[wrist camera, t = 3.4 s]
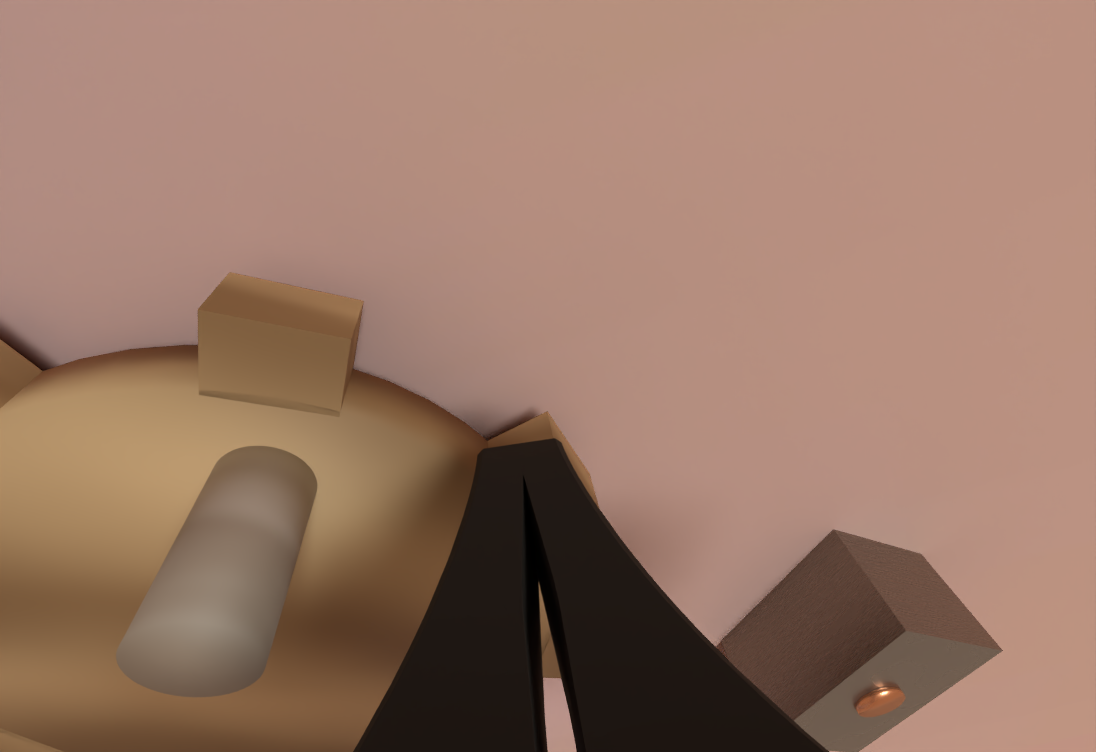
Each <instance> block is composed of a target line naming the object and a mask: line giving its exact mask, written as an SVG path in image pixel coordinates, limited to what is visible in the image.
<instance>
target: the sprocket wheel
mask: <svg viewBox="0 0 1096 752" xmlns="http://www.w3.org/2000/svg"><path fill="white" fill-rule="evenodd" d="M362 308H363V301H361V300H357V299H352V298H347V297H343V296H338V295H333V294H329V293H324V292H319V291H315V290H310V289H305V288H301V287H296V286H291V285H287V284H282V283H277V282H273V281H268V280H263V279H259V278H254V277H249V276H245V275H240V274H235V273H231V272H230V273H229V274H228V275H227V276H226V277H225V278H224V280H223V281H222V282H221V283H220V284H219V285H218V287H217V288H216V289H215V290H214V291H213V292H212V294H211V295H210V296H209V297H208V298H207V299H206V301H205V302H204V303H203V304H202V305H201V306H200V308H199V309H198V345H179V346H166V347H153V348H140V349H129V350H124V351H119V352H114V353H109V354H104V355H98V356H93V357H88V358H83V359H78V360H75V361H72V362H69V363H66V364H63V365H60V366H57V367H54V368H51V369H48V370H45V371H42V370H40V369H39V368H38V367H36V366H35V365H34V364H32V363H31V362H30V361H28V360H27V359H26V358H24V357H23V356H22V355H20V354H19V353H18V352H16V351H15V350H14V349H12V348H11V347H10V346H8V345H7V344H6V343H4V342H3V341H2V340H0V752H353V751H354V749H355V747H356V746H357V744H358V742H359V741H360V739H361V737H362V735H363V734H364V732H365V730H366V728H367V726H368V725H369V723H370V721H371V719H372V717H373V716H374V714H375V712H376V710H377V708H378V706H379V705H380V703H381V701H382V699H383V697H384V696H385V694H386V692H387V690H388V688H389V687H390V685H391V683H392V681H393V679H394V677H395V675H396V673H397V671H398V669H399V667H400V665H401V663H402V661H403V659H404V657H405V655H406V653H407V651H408V649H409V647H410V645H411V643H412V641H413V639H414V637H415V635H416V633H417V631H418V629H419V626H420V624H421V622H422V620H423V618H424V616H425V613H426V611H427V609H428V606H429V604H430V602H431V599H432V597H433V594H434V592H435V590H436V587H437V585H438V582H439V580H440V578H441V575H442V573H443V570H444V568H445V566H446V563H447V561H448V558H449V555H450V553H451V550H452V547H453V544H454V541H455V538H456V535H457V532H458V529H459V527H460V524H461V521H462V518H463V515H464V512H465V508H466V505H467V501H468V498H469V494H470V491H471V487H472V483H473V478H474V473H475V469H476V462H477V455H478V454H479V453H480V452H481V451H482V449H484V448H491V447H498V446H505V445H511V444H518V443H525V442H532V441H538V440H545V439H552V438H556V439H557V440H559V441H560V442H562V445H563V447H564V450H565V452H566V454H567V456H568V458H569V460H570V462H571V464H572V466H573V468H574V469H575V471H576V473H577V475H578V476H579V478H580V480H581V481H582V483H583V485H584V486H585V488H586V489H587V491H588V493H589V494H590V496H591V497H592V499H593V500H594V502H595V503H596V505H597V506H598V502H597V499H596V495H595V492H594V488H593V484H592V481H591V477H590V474H589V472H588V471H587V469H586V468H585V466H584V465H583V463H582V462H581V460H580V459H579V457H578V456H577V454H576V453H575V451H574V450H573V448H572V447H571V445H570V444H569V443H568V441H567V440H566V438H565V437H564V435H563V434H562V432H561V431H560V429H559V428H558V426H557V425H556V423H555V422H554V420H553V419H552V417H551V416H550V414H549V413H548V411H547V412H545V413H543V414H541V415H539V416H537V417H535V418H533V419H531V420H529V421H527V422H525V423H523V424H521V425H519V426H517V427H515V428H513V429H511V430H509V431H507V432H505V433H502V434H500V435H498V436H496V437H494V438H492V439H490V440H488V441H487V440H486V439H484V438H483V437H482V436H481V435H480V434H478V433H477V432H476V431H475V430H473V429H472V428H471V427H470V426H469V425H467V424H466V423H465V422H463V421H462V420H460V419H459V418H457V417H455V416H454V415H452V414H450V413H449V412H447V411H446V410H444V409H442V408H441V407H439V406H438V405H436V404H434V403H433V402H431V401H430V400H427V399H425V398H423V397H421V396H419V395H417V394H415V393H413V392H410V391H408V390H406V389H404V388H402V387H400V386H398V385H396V384H393V383H391V382H389V381H386V380H384V379H381V378H378V377H375V376H372V375H369V374H366V373H363V372H360V371H358V370H355V369H353V365H354V358H355V352H356V346H357V339H358V333H359V327H360V320H361V314H362ZM598 508H599V506H598ZM539 602H540V623H541V646H542V668H543V677H545V678H561V675H560V670H559V666H558V662H557V658H556V653H555V649H554V645H553V641H552V636H551V632H550V628H549V624H548V619H547V615H546V611H545V607H544V602H543V598H542V594H541V590H540V585H539Z"/></svg>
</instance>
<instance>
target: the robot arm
mask: <svg viewBox="0 0 1096 752" xmlns="http://www.w3.org/2000/svg"><path fill="white" fill-rule="evenodd" d="M539 585H540V590H541V594H542V598H543V602H544V607H545V611H546V615H547V619H548V624H549V628H550V632H551V636H552V641H553V645H554V649H555V653H556V658H557V662H558V666H559V670H560V675H561V679H562V683H563V687H564V692H565V696H566V700H567V704H568V709H569V713H570V718H571V723H572V728H573V733H574V738H575V743H576V750H577V752H829V751H828V750H827V749H825V748H824V747H823V746H822V745H821V744H820V743H818V742H817V741H816V740H815V739H814V738H813V737H811V736H810V735H809V734H808V733H807V732H805V731H804V730H803V729H802V728H801V727H800V726H799V725H798V724H797V723H796V722H795V721H793V720H792V719H791V718H790V717H789V716H788V715H787V714H786V713H785V712H784V711H783V710H781V709H780V708H779V707H778V706H777V705H776V704H775V703H774V702H773V701H772V700H771V699H769V698H768V697H767V696H766V695H765V694H764V693H763V692H762V691H761V690H760V689H759V688H758V687H756V686H755V685H754V684H753V683H752V682H751V681H750V680H749V679H748V678H747V677H746V676H744V675H743V674H742V673H741V672H740V671H739V670H738V669H737V668H736V667H735V666H734V665H733V664H732V663H731V662H730V661H729V660H728V659H727V658H726V657H725V656H724V655H723V654H722V653H721V652H720V651H719V650H718V649H717V648H716V647H715V646H714V645H713V644H712V643H711V642H710V641H709V640H708V639H707V638H706V637H705V636H704V635H703V634H702V633H701V632H700V631H699V630H698V629H697V628H696V627H695V626H694V624H693V623H692V622H691V621H690V620H689V619H688V618H687V617H686V616H685V615H684V614H683V613H682V612H681V611H680V609H679V608H678V607H677V606H676V605H675V604H674V603H673V602H672V601H671V599H670V598H669V597H668V596H667V595H666V594H665V593H664V592H663V590H662V589H661V588H660V587H659V586H658V585H657V583H656V582H655V581H654V580H653V579H652V577H651V576H650V575H649V574H648V573H647V571H646V570H645V569H644V568H643V566H642V565H641V564H640V563H639V561H638V560H637V559H636V558H635V557H634V555H633V554H632V553H631V552H630V550H629V549H628V548H627V546H626V545H625V544H624V542H623V541H622V540H621V539H620V537H619V536H618V534H617V533H616V532H615V530H614V529H613V527H612V526H611V525H610V523H609V522H608V520H607V519H606V518H605V516H604V515H603V513H602V512H601V511H600V509H599V508H598V506H597V505H596V503H595V502H594V500H593V499H592V497H591V496H590V494H589V493H588V491H587V489H586V488H585V486H584V485H583V483H582V481H581V480H580V478H579V476H578V475H577V473H576V471H575V469H574V468H573V466H572V464H571V462H570V460H569V458H568V456H567V454H566V452H565V450H564V447H563V445H562V442H560V441H559V440H557V439H556V438H552V439H545V440H538V441H532V442H525V443H518V444H511V445H505V446H498V447H491V448H484V449H482V451H481V452H480V453H479V454H478V455H477V462H476V469H475V473H474V478H473V483H472V487H471V491H470V494H469V498H468V501H467V505H466V508H465V512H464V515H463V518H462V521H461V524H460V527H459V529H458V532H457V535H456V538H455V541H454V544H453V547H452V550H451V553H450V555H449V558H448V561H447V563H446V566H445V568H444V570H443V573H442V575H441V578H440V580H439V582H438V585H437V587H436V590H435V592H434V594H433V597H432V599H431V602H430V604H429V606H428V609H427V611H426V613H425V616H424V618H423V620H422V622H421V624H420V626H419V629H418V631H417V633H416V635H415V637H414V639H413V641H412V643H411V645H410V647H409V649H408V651H407V653H406V655H405V657H404V659H403V661H402V663H401V665H400V667H399V669H398V671H397V673H396V675H395V677H394V679H393V681H392V683H391V685H390V687H389V688H388V690H387V692H386V694H385V696H384V697H383V699H382V701H381V703H380V705H379V706H378V708H377V710H376V712H375V714H374V716H373V717H372V719H371V721H370V723H369V725H368V726H367V728H366V730H365V732H364V734H363V735H362V737H361V739H360V741H359V742H358V744H357V746H356V747H355V749H354V751H353V752H548V750H547V739H546V727H545V713H544V690H543V668H542V646H541V623H540V602H539Z"/></svg>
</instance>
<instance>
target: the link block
mask: <svg viewBox="0 0 1096 752" xmlns="http://www.w3.org/2000/svg"><path fill="white" fill-rule="evenodd" d="M721 643H722V645H723V647H724V650H725V652H726V655H727V657H728V659H729V661H730V662H731V663H732V664H733V665H734V666H735V667H736V668H737V669H738V670H739V671H740V672H741V673H742V674H743V675H744V676H746V677H747V678H748V679H749V680H750V681H751V682H752V683H753V684H754V685H755V686H756V687H758V688H759V689H760V690H761V691H762V692H763V693H764V694H765V695H766V696H767V697H768V698H769V699H771V700H772V701H773V702H774V703H775V704H776V705H777V706H778V707H779V708H780V709H781V710H783V711H784V712H785V713H786V714H787V715H788V716H789V717H790V718H791V719H792V720H793V721H795V722H796V723H797V724H798V725H799V726H800V727H801V728H802V729H803V730H804V731H805V732H807V733H808V734H809V735H810V736H811V737H813V738H814V739H815V740H816V741H817V742H818V743H820V744H821V745H822V746H823V747H824V748H825V749H827V750H829V751H840V752H859V751H860V750H862V749H863V748H864V747H866V746H867V745H869V744H870V743H872V742H873V741H874V740H876V739H877V738H879V737H880V736H882V735H883V734H884V733H886V732H887V731H889V730H890V729H892V728H893V727H894V726H896V725H897V724H899V723H900V722H902V721H903V720H904V719H906V718H907V717H909V716H910V715H912V714H913V713H914V712H916V711H917V710H919V709H920V708H922V707H923V706H924V705H926V704H927V703H929V702H930V701H932V700H933V699H934V698H936V697H937V696H939V695H940V694H942V693H943V692H944V691H946V690H947V689H949V688H950V687H952V686H953V685H954V684H956V683H957V682H959V681H960V680H962V679H963V678H964V677H966V676H967V675H969V674H970V673H972V672H973V671H974V670H976V669H977V668H979V667H980V666H982V665H983V664H984V663H986V662H987V661H989V660H990V659H992V658H993V657H994V656H996V655H997V654H999V653H1000V652H1002V651H1003V650H1002V649H1001V648H1000V647H999V646H998V644H997V643H996V642H995V641H994V640H993V639H992V637H991V636H990V635H989V634H988V633H987V631H986V630H985V629H984V628H983V627H982V625H981V624H980V623H979V622H978V621H977V620H976V618H975V617H974V616H973V615H972V614H971V612H970V611H969V610H968V609H967V608H966V607H965V605H964V604H963V603H962V602H961V601H960V599H959V598H958V597H957V596H956V595H955V594H954V592H953V591H952V590H951V589H950V588H949V586H948V585H947V584H946V583H945V582H944V580H943V579H942V578H941V577H940V576H939V575H938V573H937V572H936V571H935V570H934V569H933V567H932V566H931V565H930V564H929V563H928V562H927V560H926V559H925V558H924V557H923V556H922V554H920V553H916V552H912V551H909V550H905V549H902V548H898V547H895V546H891V545H887V544H884V543H880V542H877V541H873V540H870V539H866V538H863V537H859V536H855V535H852V534H848V533H845V532H841V531H838V530H834V529H833V530H832V531H831V532H830V533H829V534H828V535H827V536H826V537H825V538H824V539H823V540H822V541H821V542H820V543H819V544H818V545H817V546H816V547H815V548H814V549H813V550H812V551H811V552H810V553H809V554H808V555H807V556H806V557H805V558H804V559H803V560H802V561H801V562H800V563H799V564H798V565H797V566H796V567H795V568H794V569H793V570H792V571H791V572H790V573H789V574H788V575H787V576H786V577H785V578H784V579H783V580H782V581H781V582H780V583H779V584H778V585H777V586H776V587H775V588H774V589H773V590H772V591H771V592H770V593H769V594H768V595H767V596H766V597H765V598H764V599H763V600H762V601H761V602H760V603H759V604H758V605H757V606H756V607H755V608H754V609H753V610H752V611H751V612H750V613H749V614H748V615H747V616H746V617H745V618H744V619H743V620H742V621H741V622H740V623H739V624H738V625H737V626H736V627H735V628H734V629H733V630H732V631H731V632H729V633H728V634H727V635H726V636H725V637H724V638H723V639H722V640H721Z"/></svg>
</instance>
